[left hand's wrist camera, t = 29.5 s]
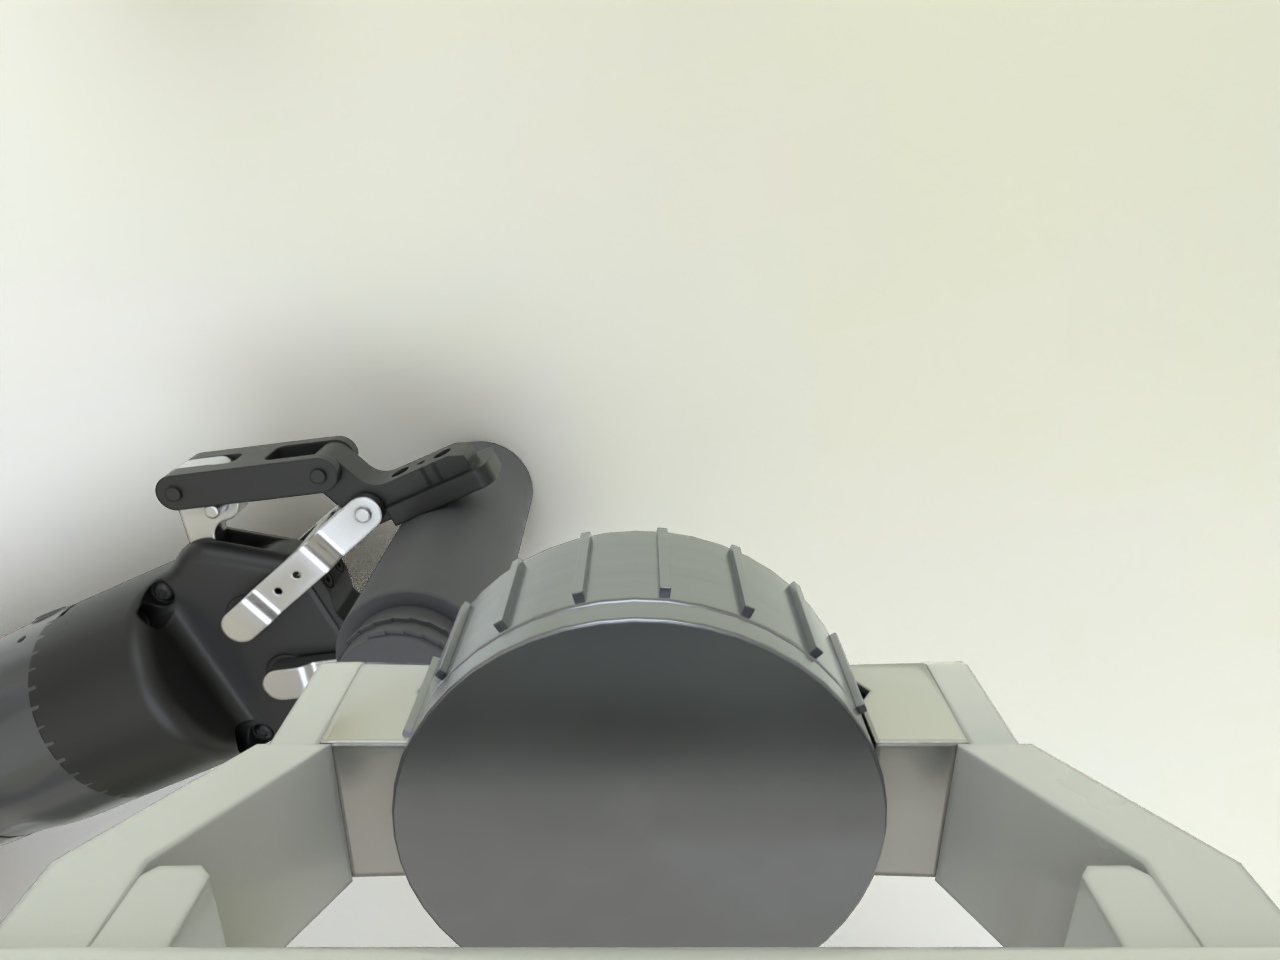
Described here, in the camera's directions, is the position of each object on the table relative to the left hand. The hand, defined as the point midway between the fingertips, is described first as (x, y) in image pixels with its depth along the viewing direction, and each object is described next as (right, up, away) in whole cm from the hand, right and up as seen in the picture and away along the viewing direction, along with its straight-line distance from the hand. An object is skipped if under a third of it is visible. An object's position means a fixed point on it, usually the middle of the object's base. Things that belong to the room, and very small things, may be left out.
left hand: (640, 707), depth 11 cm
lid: (0, -1, -2) cm, 2 cm away
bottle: (-7, +2, +26) cm, 27 cm away
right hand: (-4, +1, +19) cm, 20 cm away
